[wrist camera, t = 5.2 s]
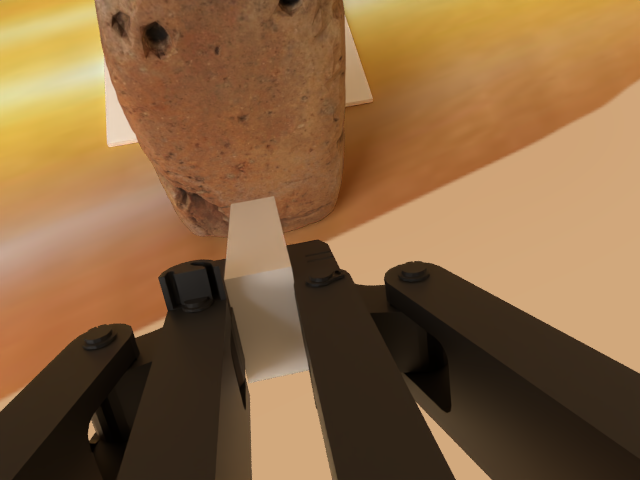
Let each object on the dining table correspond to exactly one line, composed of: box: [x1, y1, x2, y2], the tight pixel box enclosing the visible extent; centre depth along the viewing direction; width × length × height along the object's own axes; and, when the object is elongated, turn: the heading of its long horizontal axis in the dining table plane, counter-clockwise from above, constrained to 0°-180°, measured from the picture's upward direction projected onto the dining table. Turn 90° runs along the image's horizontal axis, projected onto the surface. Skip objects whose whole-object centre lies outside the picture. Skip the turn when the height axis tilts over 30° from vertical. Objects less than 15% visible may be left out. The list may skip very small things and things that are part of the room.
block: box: [95, 0, 346, 237], centre depth 26 cm, size 11×8×20 cm
